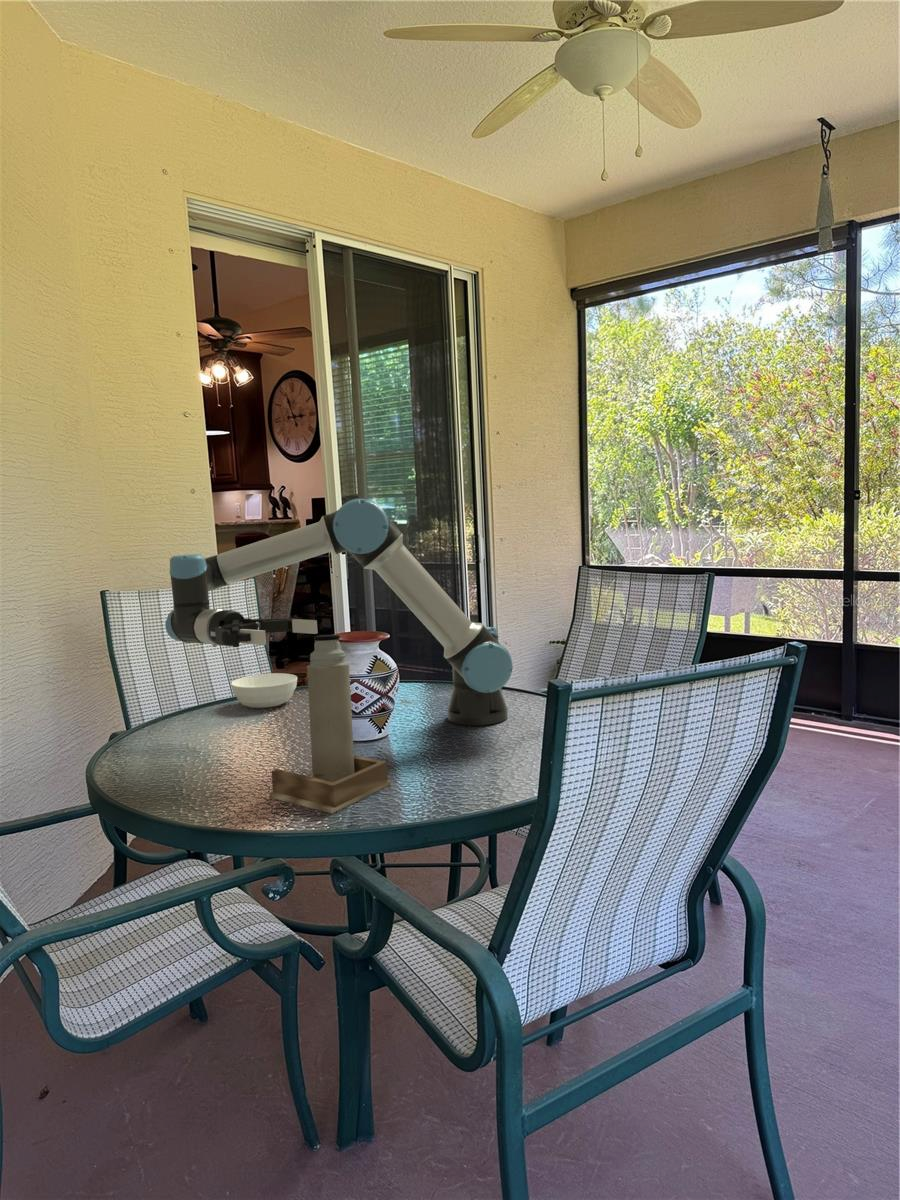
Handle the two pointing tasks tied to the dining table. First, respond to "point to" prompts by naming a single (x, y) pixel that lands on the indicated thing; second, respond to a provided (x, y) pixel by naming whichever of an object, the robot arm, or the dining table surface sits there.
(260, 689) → the bowl
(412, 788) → the dining table surface
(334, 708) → the thermos bottle
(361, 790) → the walnut cradle
